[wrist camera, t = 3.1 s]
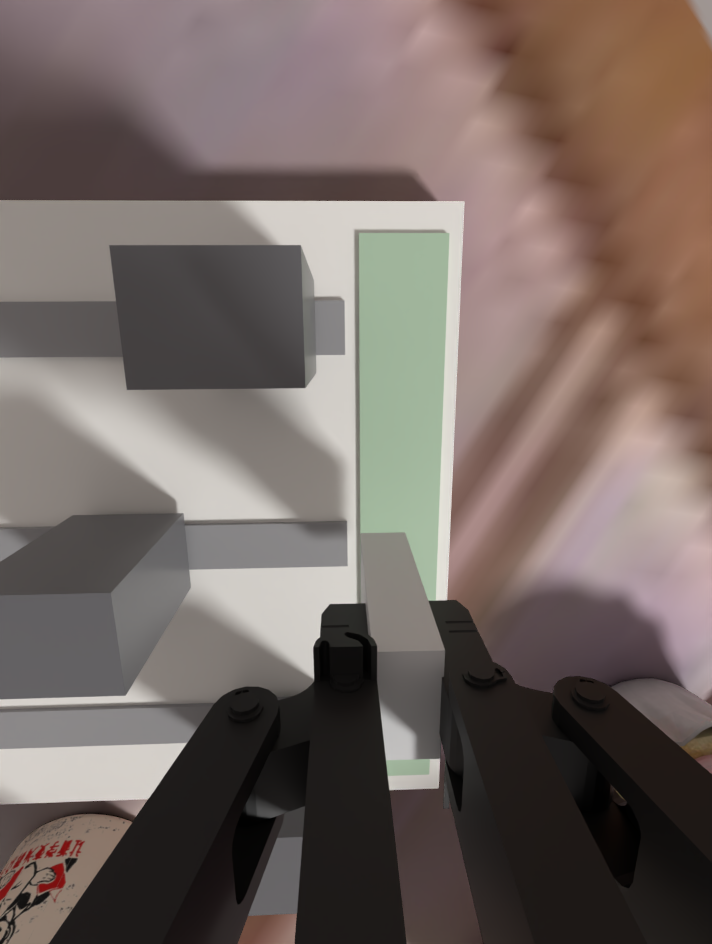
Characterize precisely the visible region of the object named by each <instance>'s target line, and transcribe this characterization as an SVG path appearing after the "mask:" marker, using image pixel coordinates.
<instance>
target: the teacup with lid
mask: <svg viewBox="0 0 712 944" xmlns="http://www.w3.org/2000/svg"><path fill="white" fill-rule="evenodd" d="M131 824H132V822H131V821H129V820H126V819H122V818H119V817H115V816H109V815H102V814H79V815H72V816H67V817H63V818H60V819H57V820H54V821H51V822H49V823H47V824H45V825H43V826H41V827H39V828H38V829H36V830H35V831H33V832H32V833H31V834H30V835H28V836H27V837H26V838H25V839H24V840H23V841H22V842H21V843H20V844H19V846H18V847H17V848H16V850H15V851H14V853H13V854H12V856H11V857H10V859H9V860H8V862H7V864H6V865H5V867H4V868H3V870H2V871H1V873H0V944H49V943H50V941H51V940H52V938H53V937H54V935H55V934H56V932H57V931H58V929H59V928H60V927H61V925H62V924H63V922H64V921H65V919H66V918H67V916H68V915H69V914H70V912H71V911H72V909H73V908H74V906H75V905H76V903H77V902H78V900H79V899H80V898H81V896H82V895H83V893H84V892H85V890H86V889H87V887H88V886H89V885H90V883H91V882H92V880H93V879H94V877H95V876H96V874H97V873H98V871H99V870H100V869H101V867H102V866H103V864H104V863H105V861H106V860H107V858H108V857H109V856H110V854H111V853H112V851H113V850H114V848H115V847H116V845H117V844H118V842H119V841H120V840H121V838H122V837H123V835H124V834H125V832H126V831H127V829H128V828H129V827H130V825H131Z"/></svg>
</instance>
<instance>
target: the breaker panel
mask: <svg viewBox="0 0 712 944" xmlns="http://www.w3.org/2000/svg"><path fill="white" fill-rule="evenodd" d="M463 223H464V201H140V200H0V562H1V561H2V560H4V559H5V558H7V557H8V556H10V555H12V554H13V553H15V552H16V551H18V550H19V549H21V548H22V547H24V546H26V545H27V544H29V543H30V542H32V541H33V540H35V539H36V538H38V537H40V536H41V535H43V534H44V533H46V532H47V531H49V530H50V529H52V528H53V527H55V526H57V525H58V524H60V523H61V522H63V521H64V520H66V519H67V518H69V517H71V516H72V515H110V514H166V513H184V522H185V532H186V542H187V552H188V562H189V572H190V582H191V588H190V590H189V592H188V593H187V595H186V597H185V598H184V600H183V602H182V603H181V605H180V607H179V608H178V610H177V612H176V613H175V615H174V617H173V618H172V620H171V622H170V623H169V625H168V626H167V628H166V630H165V631H164V633H163V635H162V636H161V638H160V640H159V641H158V643H157V645H156V646H155V648H154V650H153V651H152V653H151V655H150V656H149V658H148V660H147V661H146V663H145V665H144V666H143V668H142V670H141V671H140V673H139V675H138V676H137V678H136V679H135V681H134V683H133V684H132V686H131V688H130V689H129V691H128V693H127V694H126V696H99V697H66V698H32V699H0V804H27V803H54V802H81V801H108V800H136V799H149V798H150V796H151V795H152V793H153V792H154V790H155V789H156V787H157V786H158V784H159V783H160V782H161V780H162V779H163V777H164V776H165V774H166V773H167V771H168V770H169V769H170V767H171V766H172V764H173V763H174V761H175V760H176V758H177V757H178V755H179V754H180V753H181V751H182V750H183V748H184V747H185V745H186V744H187V742H188V741H189V740H190V738H191V737H192V735H193V734H194V732H195V731H196V729H197V728H198V726H199V725H200V724H201V722H202V721H203V719H204V718H205V716H206V715H207V713H208V712H209V711H210V709H211V708H212V706H213V705H214V704H215V703H216V702H217V701H218V700H219V699H220V697H221V696H223V695H225V694H226V693H228V692H230V691H232V690H234V689H238V688H242V687H262V688H265V689H268V690H270V691H271V692H272V693H273V694H275V695H276V696H277V697H287V696H294V695H297V694H299V693H301V692H303V691H304V690H306V689H307V688H308V687H309V686H310V685H312V683H313V682H314V659H313V647H314V644H315V642H316V640H317V639H318V638H320V628H321V614H322V613H323V612H324V610H325V609H326V608H327V607H328V606H329V604H358V603H361V538H360V533H397V532H405V534H406V536H407V539H408V542H409V545H410V548H411V551H412V554H413V557H414V560H415V563H416V566H417V569H418V572H419V575H420V578H421V581H422V584H423V587H424V590H425V593H426V595H427V598H428V601H437V600H447V588H448V566H449V543H450V520H451V497H452V474H453V451H454V429H455V406H456V383H457V360H458V337H459V314H460V292H461V269H462V246H463ZM109 245H301V247H302V249H303V252H304V255H305V258H306V260H307V263H308V266H309V268H310V271H311V274H312V276H313V279H314V297H315V335H316V375H315V376H314V377H313V379H312V380H311V381H310V383H309V384H308V385H307V387H306V388H272V389H170V390H127V387H126V379H125V371H124V363H123V355H122V346H121V338H120V330H119V322H118V314H117V305H116V297H115V289H114V281H113V273H112V264H111V256H110V248H109ZM386 765H387V774H388V783H389V790H408V789H435V788H439V771H440V759H414V760H386Z"/></svg>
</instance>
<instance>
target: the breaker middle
mask: <svg viewBox="0 0 712 944" xmlns="http://www.w3.org/2000/svg"><path fill="white" fill-rule="evenodd" d="M190 588H191V582H190V572H189V562H188V552H187V542H186V532H185V522H184V513H166V514H110V515H72V516H71V517H69V518H67V519H66V520H64V521H63V522H61V523H60V524H58V525H57V526H55V527H53V528H52V529H50V530H49V531H47V532H46V533H44V534H43V535H41V536H40V537H38V538H36V539H35V540H33V541H32V542H30V543H29V544H27V545H26V546H24V547H22V548H21V549H19V550H18V551H16V552H15V553H13V554H12V555H10V556H8V557H7V558H5V559H4V560H2V561H1V562H0V699H32V698H66V697H99V696H126V694H127V693H128V691H129V689H130V688H131V686H132V684H133V683H134V681H135V679H136V678H137V676H138V675H139V673H140V671H141V670H142V668H143V666H144V665H145V663H146V661H147V660H148V658H149V656H150V655H151V653H152V651H153V650H154V648H155V646H156V645H157V643H158V641H159V640H160V638H161V636H162V635H163V633H164V631H165V630H166V628H167V626H168V625H169V623H170V622H171V620H172V618H173V617H174V615H175V613H176V612H177V610H178V608H179V607H180V605H181V603H182V602H183V600H184V598H185V597H186V595H187V593H188V592H189V590H190Z"/></svg>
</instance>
